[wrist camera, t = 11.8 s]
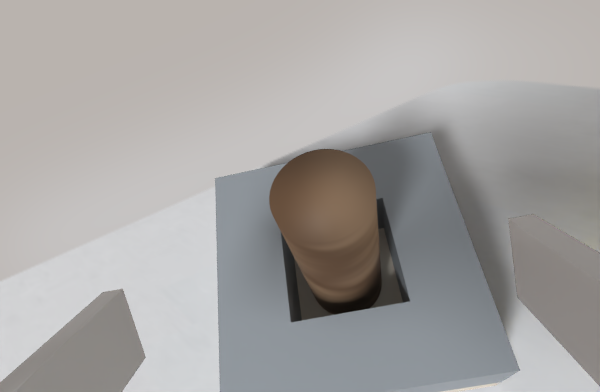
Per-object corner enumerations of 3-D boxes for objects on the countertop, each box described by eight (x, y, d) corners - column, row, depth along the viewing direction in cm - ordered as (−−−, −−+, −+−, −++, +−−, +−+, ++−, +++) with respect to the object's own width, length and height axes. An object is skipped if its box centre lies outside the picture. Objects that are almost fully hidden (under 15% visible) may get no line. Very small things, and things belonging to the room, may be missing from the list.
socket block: (424, 179, 31) (430, 132, 26) (494, 385, 24) (520, 370, 19) (240, 217, 32) (215, 178, 28) (252, 423, 25) (220, 417, 20)
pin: (373, 243, 28) (363, 139, 18) (389, 309, 25) (387, 229, 16) (307, 256, 28) (265, 160, 19) (316, 322, 26) (274, 251, 16)
